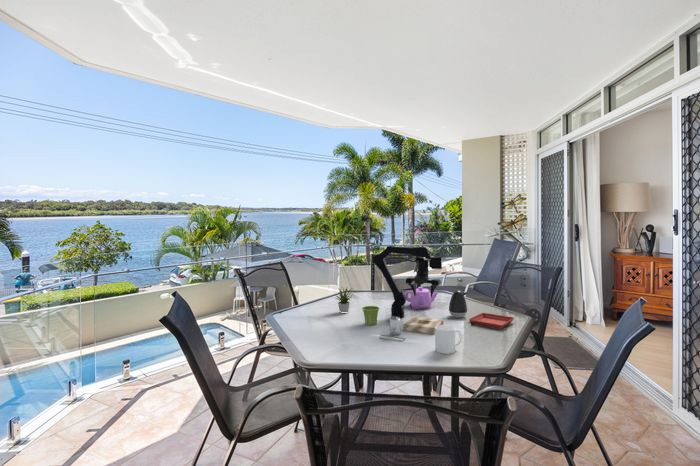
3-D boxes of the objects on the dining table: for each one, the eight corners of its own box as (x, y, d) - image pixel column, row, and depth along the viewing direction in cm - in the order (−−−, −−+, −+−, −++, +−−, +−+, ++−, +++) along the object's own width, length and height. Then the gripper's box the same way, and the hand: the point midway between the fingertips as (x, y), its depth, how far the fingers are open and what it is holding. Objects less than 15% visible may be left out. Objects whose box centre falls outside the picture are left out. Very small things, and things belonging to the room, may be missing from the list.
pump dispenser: (468, 319, 209) (468, 292, 208) (449, 318, 211) (449, 292, 210) (466, 314, 219) (466, 289, 218) (448, 314, 221) (448, 288, 220)
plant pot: (383, 323, 204) (382, 307, 204) (372, 327, 198) (371, 310, 197) (369, 320, 211) (369, 305, 211) (358, 324, 204) (358, 308, 204)
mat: (379, 337, 180) (379, 336, 180) (389, 331, 190) (388, 329, 190) (402, 341, 174) (402, 340, 174) (411, 334, 185) (411, 333, 185)
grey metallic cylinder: (388, 335, 181) (388, 318, 181) (392, 332, 186) (392, 315, 185) (398, 336, 179) (397, 319, 179) (402, 333, 183) (401, 316, 183)
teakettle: (419, 301, 254) (419, 283, 254) (439, 306, 241) (439, 287, 241) (401, 306, 244) (401, 287, 243) (421, 310, 231) (421, 290, 230)
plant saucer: (467, 325, 200) (467, 318, 200) (482, 317, 213) (482, 312, 213) (502, 331, 188) (502, 325, 188) (515, 323, 201) (515, 317, 201)
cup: (431, 348, 164) (431, 325, 164) (456, 345, 167) (456, 323, 167) (441, 355, 156) (441, 331, 156) (466, 352, 159) (466, 328, 159)
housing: (403, 331, 189) (403, 323, 189) (414, 323, 203) (414, 316, 203) (434, 336, 181) (434, 328, 181) (443, 327, 195) (443, 319, 195)
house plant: (362, 311, 231) (361, 285, 230) (350, 316, 219) (349, 288, 219) (342, 308, 239) (342, 283, 238) (330, 313, 227) (329, 286, 226)
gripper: (402, 269, 207) (402, 297, 207) (435, 271, 198) (435, 301, 198) (409, 267, 217) (409, 294, 217) (441, 269, 208) (441, 297, 208)
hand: (423, 296), depth 210 cm, fingers open, 9 cm apart
